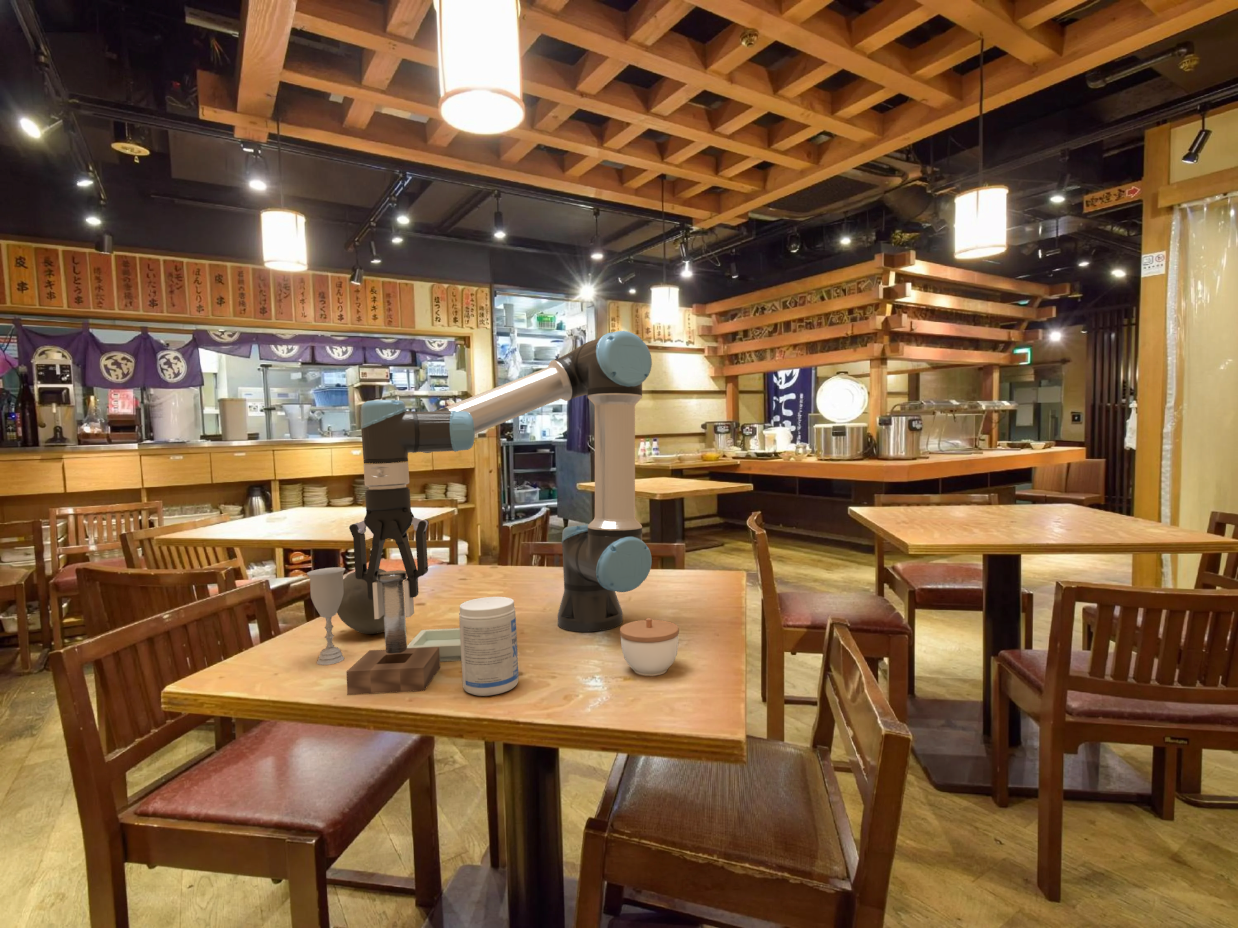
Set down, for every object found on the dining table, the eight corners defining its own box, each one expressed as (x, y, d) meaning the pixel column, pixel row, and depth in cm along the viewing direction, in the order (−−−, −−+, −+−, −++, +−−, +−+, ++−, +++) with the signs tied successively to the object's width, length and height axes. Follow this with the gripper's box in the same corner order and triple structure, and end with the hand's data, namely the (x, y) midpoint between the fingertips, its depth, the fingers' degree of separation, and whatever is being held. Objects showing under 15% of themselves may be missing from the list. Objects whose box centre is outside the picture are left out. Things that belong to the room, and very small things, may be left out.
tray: (488, 640, 133) (487, 626, 133) (477, 659, 121) (477, 644, 121) (422, 643, 132) (421, 629, 132) (405, 663, 120) (404, 647, 120)
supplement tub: (528, 688, 105) (524, 602, 105) (475, 702, 100) (471, 613, 100) (504, 672, 113) (501, 593, 113) (454, 685, 108) (450, 601, 108)
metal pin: (413, 644, 114) (409, 569, 113) (405, 653, 109) (401, 575, 108) (387, 646, 113) (383, 571, 113) (378, 655, 109) (373, 576, 108)
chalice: (333, 667, 119) (329, 575, 119) (302, 666, 120) (298, 574, 120) (357, 654, 126) (352, 567, 126) (327, 653, 128) (323, 567, 127)
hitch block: (440, 667, 117) (439, 646, 117) (424, 690, 106) (423, 667, 106) (370, 671, 116) (369, 650, 116) (347, 694, 105) (346, 671, 105)
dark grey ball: (372, 622, 150) (369, 561, 149) (417, 628, 144) (414, 564, 143) (322, 640, 137) (319, 573, 137) (369, 647, 131) (366, 577, 131)
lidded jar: (611, 665, 115) (610, 616, 115) (662, 656, 119) (661, 608, 119) (636, 685, 105) (635, 630, 105) (691, 673, 109) (689, 621, 109)
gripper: (327, 490, 106) (335, 624, 107) (432, 486, 107) (439, 619, 108) (345, 487, 113) (352, 613, 114) (442, 483, 114) (449, 607, 115)
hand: (394, 615), depth 111 cm, fingers closed on metal pin, 5 cm apart
